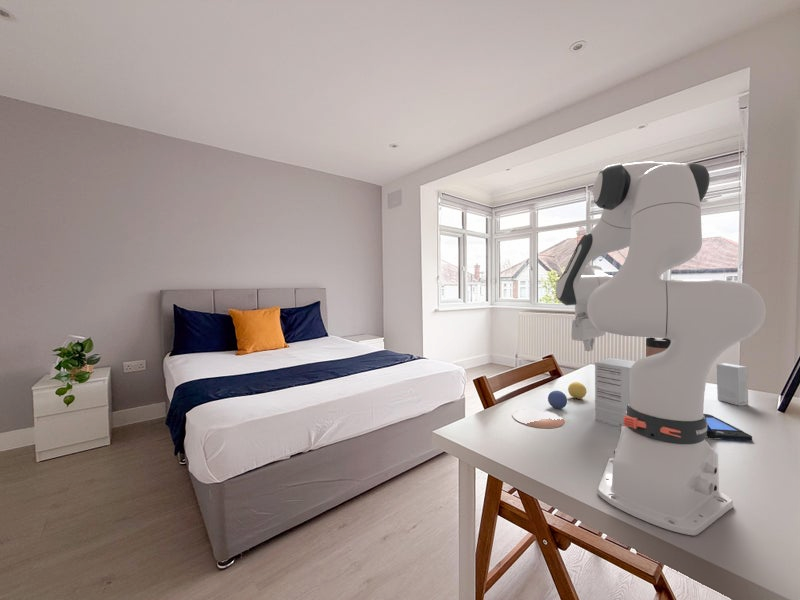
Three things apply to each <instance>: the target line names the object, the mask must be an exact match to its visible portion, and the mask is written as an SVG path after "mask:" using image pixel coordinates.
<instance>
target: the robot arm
mask: <svg viewBox="0 0 800 600" xmlns="http://www.w3.org/2000/svg"><path fill="white" fill-rule="evenodd" d="M710 178H711V177H710V172H709V171H708V169H707V168H706V167H705V165H702V164H699V163H693V162H685V163H679V162H655V161H643V162H642V161H641V162H640V161H639V162H630V163H624V164H622V163H614V164H610V165H607V166H605V167H604V168H603V169H601V170H600V171H599V173H598V175H597V177H596V178H595V180H594V183H593V186H592V196H593V203H595V206H597V207H598V208H600V209H602V211H601V212H602V213H601V216H600V219H599V220H598V222H597V223H596V225H595V226H594V227H592V229H591V230H590V231H589V232H587V233H585V234H584V235H582V237H581V238H580V240H579V242H578V243H577V245H576V247H575V248H574V250H573V253H572V255H571V257H570V260H569V261H568V264H567V265H566V267H565V269H564V271H563V273H562V275H561V276H560V278H559V279H558V280H557V282H556V286H555V297H556V298H557V300H558V301H559V302H560V303H561V304H563V305H565V306H574V316H575V318H574V319H572V322H571V323H572V324H571V339H572V340H573V341H577V342H582V343H583V346H584V351H585V352H591V351H593V350H594V345H595V342H596V338H599V337H603V336H605V334H606V333H609V334H613V335H619V336H624V337H638V338H639V337H641V338H655V339H658V338H659V339H663V338H665V339H669V340H670V341H671V343H670V345H669V347H668V348H667V349H666V350H665V351H663V352H661V353H658V354H655V355H651V356H648V357H646V356H645V357H642V358H641V359H639V360H637V361H636V362H635V363H634V364H633V366H632V367H631V369H630V387H629V403H628V404H627V409H626V413H625V417H624V421H623V422H624V426H623V427H620V430H621V431H620V432H621V433H620V436H619V439H618V443H617V446H616V449H614V451H613V455H614V457H609V459H608V460H607V464H606V465H605V466H606V467H605V468H604V472H603V474H602V475H601V479H600V481H599V485H598V487H597V495H598V496H599V497H600V498H602V500H604V501H605V502H606V503H609V504H610V505H611V506H612V507H615V508H617V509H619V510H621V511H623V512H625V513H627V514H629V515H631V516H633V517H635V518H637V519H639V520H642V521H644V522H647V523H648V524H652V525H654V526H657V527H659V528H663V529H665V530H667V531H671V532H673V533H674V532H675V533H679V534H684V535H687V536H688V535H689V536H697V535H699V534H700V533H702V532H703V531H704V530H706V529H707V528H708V527H709V526H710V525H712V524H713V523H714V522H716V521H717V520H718V519H719V518H721V517H722V516H723V515H724V514H726V513H727V512H728V511H729V510H731V509H733V508H734V503H733V499H732V498H731V497H730V496H729V495H727V494H725V493H723V492H722V491H720V475H719V473H720V472H719V455H718V453H717V451H716V450H715V449H714V448H712V447H711V446H710V444H709V443H708V442H707V440H706V439H707V438H708V437H707V429H708V427H707V422H706V417H705V416H704V415H703V414H704V406H705V404H704V403H705V391H706V385H707V379H708V375H709V372H710V370H711V369H712V366H713V365H714V363H715V362H716V360H717V359H718V358H719V357H720V356H721V355H722V354H723V353H724V352H725V351H727V350H728V349H730V348H731V347H732V346H734V345H736V344H737V343H739V342H742V341H744V340H747V339H748V338H750V337H752V336H753V335H754V334H756V333H757V331H759V329H761V327H762V326H763V325H764V322H765V319H766V315H767V308H766V303H765V301H764V299H763V297H762V295H761V294H760V292H758V291H757V290H756V289H755V288H754V287H753V286H751V285H750V284H748V283H746V282H736V281H730V280H723V279H722V280H720V279H712V278H711V279H675V280H673V279H671V280H670V279H669V280H665V279H661V278H660V277H661V276H662V275H664V273H666V272H667V271H669V270H671V269H674V268H676V267H679V266H681V265H683V264H686V263H687V262H689V261H690V260H692V259H694V258H695V256H697V254H699V252H700V250H701V249H702V245H703V236H702V235H703V234H702V211H701V202H702V201H703V200H704V198H705V197H706V195H707V193H708V190H709V186H710ZM626 248H628V252H627V256H626V258H625V261H624V262H623V263H622V264H621V266H620V268H619V270H618V271H617V272H616V273H615V274H614V275H611V274H607V273H606V272H604V270H603V268H602V266H599V265H588V264H589V263H590V262H591V261H592V260H594V259H595V258H597V257H600V256H603V255H605V254H609V253H613V252H617V251H621V250H625V249H626Z"/></svg>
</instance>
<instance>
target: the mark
mask: <svg viewBox="0 0 800 600" xmlns="http://www.w3.org/2000/svg"><path fill="white" fill-rule="evenodd" d="M563 424H564V425H565V419H564V418H563V419H561V420H560V419H557V420H555V419H554V420H552V419H550V418H549V419H541V420H539V421H534V422H530V423H527V424H526V425H525V426H527V425H529V426H528V427H531V426H533V427H532V428H537V427H538V429H556V427H557V428H560V427H562V426H563ZM559 426H560V427H559Z"/></svg>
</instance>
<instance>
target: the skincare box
mask: <svg viewBox="0 0 800 600" xmlns="http://www.w3.org/2000/svg"><path fill="white" fill-rule="evenodd" d="M748 371H749V370H748V366H745V365H740V364H733V363H727V362H722V363H721V362H720V363H717V364H716V385H717V386H716V387H717V388H716V389H717V401H721V402H724V403H729V404H731V405H736V406H740V407H742V406H748V405H749V379H748V378H749V376H748V375H749V373H748Z"/></svg>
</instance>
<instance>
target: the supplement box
mask: <svg viewBox="0 0 800 600" xmlns="http://www.w3.org/2000/svg"><path fill="white" fill-rule="evenodd" d="M635 362H637V361H635V360H629V359H623V358H615V357H607V358H605V359H601V360H598V361H595V362H594V374H595V375H594V388H595V389H594V391H595V392H594V393H595V394H594V395H595V396H594V401H595V402H594V412H595V413H594V414H595V415H594V417H595V419H594V420H595V421H597V422H601V423H604V424H608V425H611V426H615V427H618V428H621V427H623V426H624V422H623V421H624V417H625V413H626V409H627V404H628V403H629V387H630V369H631V367H632V366H633V364H634V363H635Z"/></svg>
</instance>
